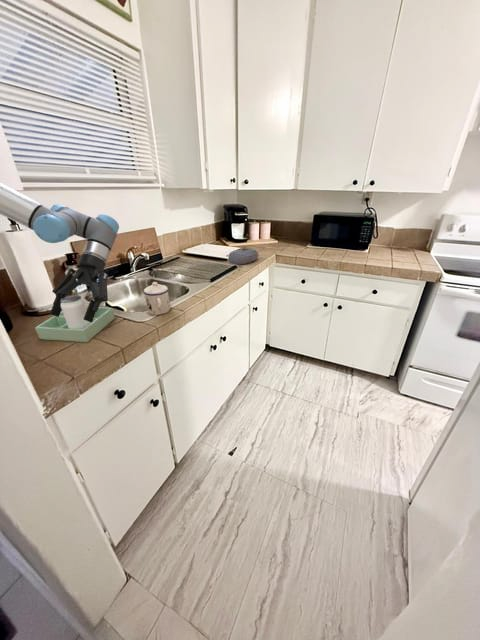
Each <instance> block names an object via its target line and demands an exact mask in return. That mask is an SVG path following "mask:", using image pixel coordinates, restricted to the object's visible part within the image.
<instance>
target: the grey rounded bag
mask: <svg viewBox="0 0 480 640" xmlns="http://www.w3.org/2000/svg"><path fill="white" fill-rule="evenodd" d="M258 258H259V252H258V251H257V250H256V249H255V248H251V247H240V248H237V249H235V250H232V251H230V252H229V253H228V261H229V262H230V263H232V264H234V265H238V266H239V265H247V264H251V263H253V262H256V261H257V260H258Z"/></svg>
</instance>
